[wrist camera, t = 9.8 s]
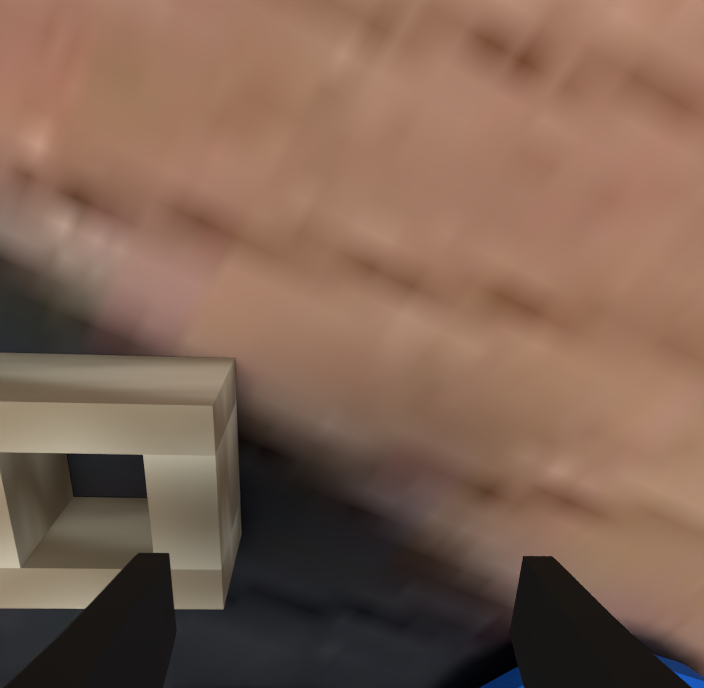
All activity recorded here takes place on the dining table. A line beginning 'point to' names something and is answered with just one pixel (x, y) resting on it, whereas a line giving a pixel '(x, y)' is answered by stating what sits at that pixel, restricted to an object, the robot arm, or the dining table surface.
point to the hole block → (117, 438)
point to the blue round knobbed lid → (511, 682)
